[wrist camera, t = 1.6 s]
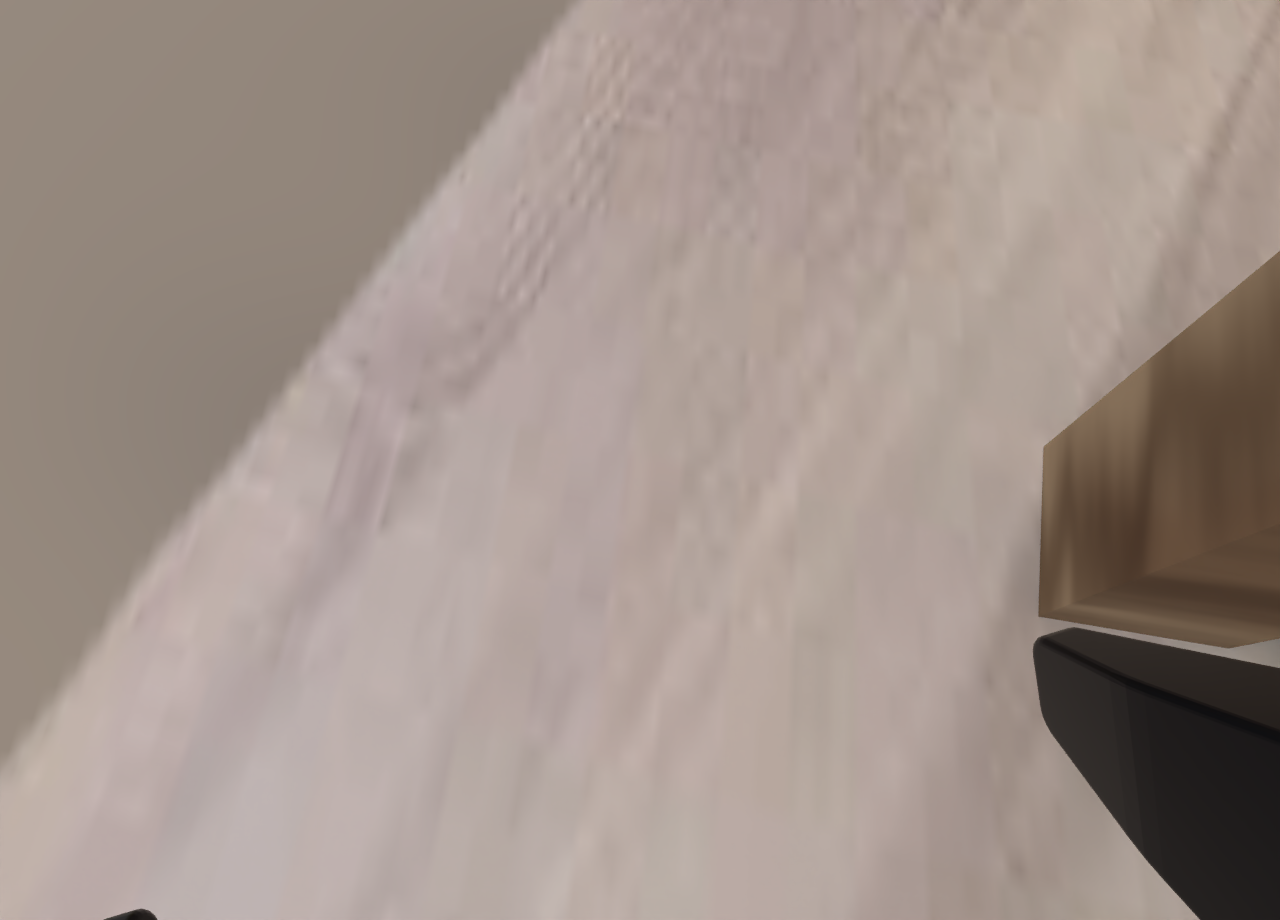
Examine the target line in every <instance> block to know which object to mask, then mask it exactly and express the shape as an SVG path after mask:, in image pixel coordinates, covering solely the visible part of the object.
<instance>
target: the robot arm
mask: <svg viewBox="0 0 1280 920" xmlns="http://www.w3.org/2000/svg"><path fill="white" fill-rule="evenodd" d="M1033 658H1034V665H1035V672H1036V679H1037V686H1038V693H1039V700H1040V707H1041V711H1042V715H1043V718H1044V720H1045V723H1046V725H1047V727H1048V728H1049V730H1050V732H1051V733H1052V735H1053V736H1054V738H1055V739H1056V740H1057V742H1058V743H1059V744H1060V746H1061V747H1062V748H1063V750H1064V751H1065V752H1066V754H1067V755H1068V756H1069V758H1070V759H1071V760H1072V762H1073V763H1074V764H1075V766H1076V767H1077V769H1078V770H1079V771H1080V773H1081V774H1082V775H1083V777H1084V778H1085V779H1086V781H1087V782H1088V783H1089V785H1090V786H1091V787H1092V789H1093V790H1094V791H1095V793H1096V794H1097V795H1098V797H1099V798H1100V800H1101V801H1102V802H1103V804H1104V805H1105V806H1106V808H1107V809H1108V810H1109V812H1110V813H1111V814H1112V816H1113V817H1114V818H1115V820H1116V821H1117V822H1118V824H1119V825H1120V826H1121V828H1122V829H1123V831H1124V832H1125V833H1126V835H1127V836H1128V837H1129V839H1130V840H1131V841H1132V842H1133V844H1134V845H1135V846H1136V847H1137V849H1138V850H1139V851H1140V853H1141V854H1142V855H1143V856H1144V858H1145V859H1146V860H1147V861H1148V862H1149V863H1150V865H1151V866H1152V867H1153V868H1154V869H1155V870H1156V871H1157V873H1158V874H1159V875H1160V876H1161V877H1162V878H1163V879H1164V881H1165V882H1166V883H1167V884H1168V885H1169V886H1170V887H1171V888H1172V889H1173V890H1174V892H1175V893H1176V894H1177V895H1178V896H1179V897H1180V898H1181V899H1182V900H1183V901H1184V903H1185V904H1186V905H1187V906H1188V907H1189V908H1190V909H1191V910H1192V911H1193V912H1194V914H1195V915H1196V916H1197V917H1198V918H1199V919H1200V920H1280V668H1276V667H1271V666H1266V665H1261V664H1256V663H1251V662H1246V661H1241V660H1236V659H1231V658H1226V657H1221V656H1216V655H1211V654H1206V653H1201V652H1196V651H1191V650H1186V649H1181V648H1176V647H1171V646H1166V645H1161V644H1156V643H1151V642H1146V641H1141V640H1136V639H1131V638H1126V637H1121V636H1116V635H1111V634H1106V633H1101V632H1096V631H1091V630H1086V629H1081V628H1075V627H1073V628H1067V629H1064V630H1060V631H1057V632H1054V633H1050V634H1047V635H1044V636H1041V637H1039V638H1038V639H1037V640H1036V641H1035V643H1034V646H1033ZM104 920H157V918H156V917H155V915H154V914H153V913H152V912H150V911H148V910H145V909H137V910H133V911H130V912H127V913H123V914H120V915H117V916H113V917H110V918H107V919H104Z"/></svg>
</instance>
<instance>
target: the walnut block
mask: <svg viewBox="0 0 1280 920" xmlns="http://www.w3.org/2000/svg"><path fill="white" fill-rule="evenodd" d="M1039 617H1045V618H1051V619H1057V620H1063V621H1069V622H1075V623H1081V624H1087V625H1093V626H1099V627H1105V628H1111V629H1117V630H1123V631H1128V632H1134V633H1140V634H1146V635H1152V636H1158V637H1164V638H1170V639H1176V640H1182V641H1188V642H1194V643H1200V644H1206V645H1212V646H1218V647H1224V648H1233V647H1238V646H1243V645H1248V644H1253V643H1258V642H1263V641H1268V640H1273V639H1279V638H1280V251H1279V252H1278V253H1277V254H1276V255H1274V256H1273V257H1272V258H1271V259H1270V260H1268V261H1267V262H1266V263H1265V264H1264V265H1262V266H1261V267H1260V268H1259V269H1258V270H1256V271H1255V272H1254V273H1253V274H1252V275H1250V276H1249V277H1248V278H1247V279H1246V280H1244V281H1243V282H1242V283H1241V284H1239V285H1238V286H1237V287H1236V288H1235V289H1233V290H1232V291H1231V292H1230V293H1229V294H1227V295H1226V296H1225V297H1224V298H1223V299H1221V300H1220V301H1219V302H1218V303H1217V304H1215V305H1214V306H1213V307H1212V308H1211V309H1209V310H1208V311H1207V312H1206V313H1205V314H1203V315H1202V316H1201V317H1200V318H1198V319H1197V320H1196V321H1195V322H1194V323H1192V324H1191V325H1190V326H1189V327H1188V328H1186V329H1185V330H1184V331H1183V332H1182V333H1180V334H1179V335H1178V336H1177V337H1176V338H1174V339H1173V340H1172V341H1171V342H1170V343H1168V344H1167V345H1166V346H1165V347H1164V348H1162V349H1161V350H1160V351H1159V352H1157V353H1156V354H1155V355H1154V356H1153V357H1151V358H1150V359H1149V360H1148V361H1147V362H1145V363H1144V364H1143V365H1142V366H1141V367H1139V368H1138V369H1137V370H1136V371H1135V372H1133V373H1132V374H1131V375H1130V376H1129V377H1127V378H1126V379H1125V380H1124V381H1123V382H1121V383H1120V384H1119V385H1118V386H1116V387H1115V388H1114V389H1113V390H1112V391H1110V392H1109V393H1108V394H1107V395H1106V396H1104V397H1103V398H1102V399H1101V400H1100V401H1098V402H1097V403H1096V404H1095V405H1094V406H1092V407H1091V408H1090V409H1089V410H1088V411H1086V412H1085V413H1084V414H1083V415H1082V416H1080V417H1079V418H1078V419H1077V420H1075V421H1074V422H1073V423H1072V424H1071V425H1069V426H1068V427H1067V428H1066V429H1065V430H1063V431H1062V432H1061V433H1060V434H1059V435H1057V436H1056V437H1055V438H1054V439H1053V440H1051V441H1050V442H1049V443H1048V444H1047V445H1045V446H1044V454H1043V487H1042V519H1041V552H1040V585H1039Z"/></svg>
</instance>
